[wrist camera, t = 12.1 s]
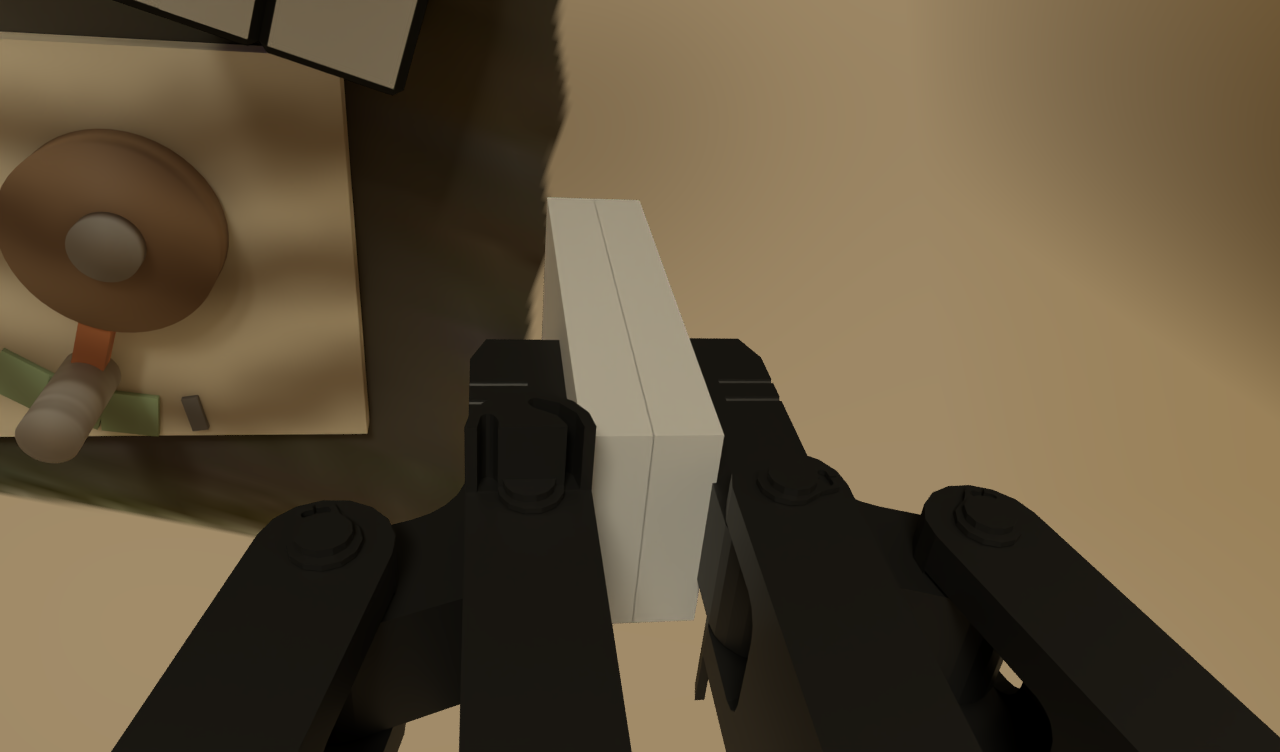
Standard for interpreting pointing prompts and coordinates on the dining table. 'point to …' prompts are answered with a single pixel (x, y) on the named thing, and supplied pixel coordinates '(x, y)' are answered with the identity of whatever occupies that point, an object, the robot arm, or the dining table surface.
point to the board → (257, 225)
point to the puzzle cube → (314, 32)
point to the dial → (105, 261)
